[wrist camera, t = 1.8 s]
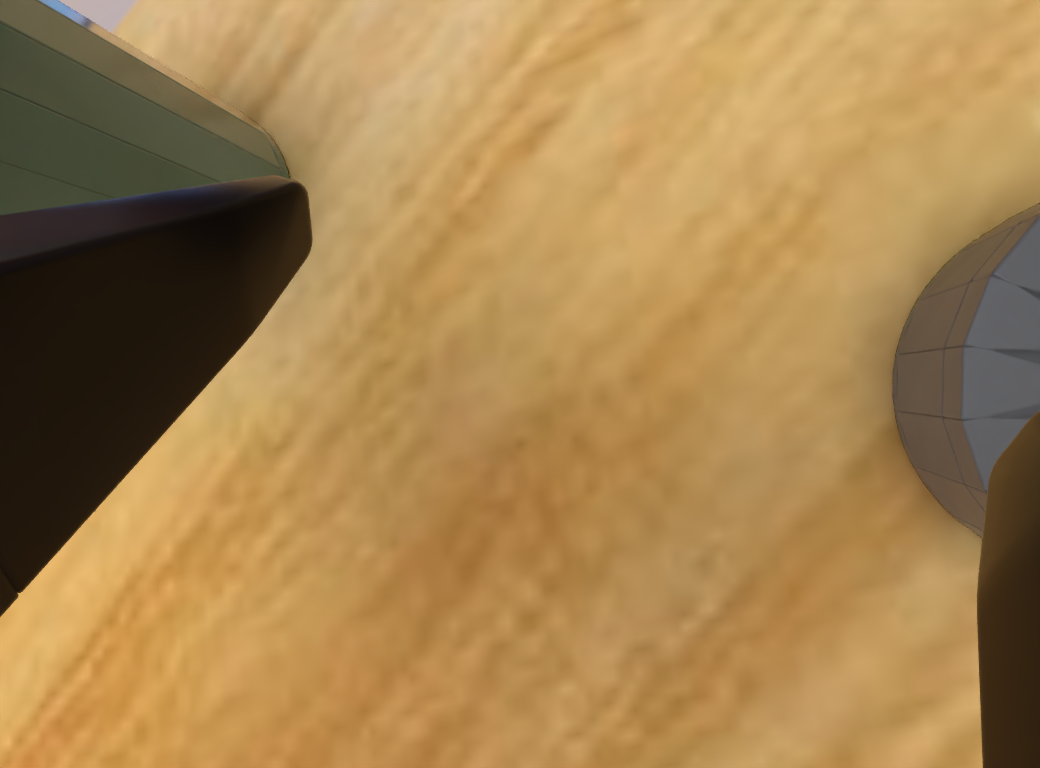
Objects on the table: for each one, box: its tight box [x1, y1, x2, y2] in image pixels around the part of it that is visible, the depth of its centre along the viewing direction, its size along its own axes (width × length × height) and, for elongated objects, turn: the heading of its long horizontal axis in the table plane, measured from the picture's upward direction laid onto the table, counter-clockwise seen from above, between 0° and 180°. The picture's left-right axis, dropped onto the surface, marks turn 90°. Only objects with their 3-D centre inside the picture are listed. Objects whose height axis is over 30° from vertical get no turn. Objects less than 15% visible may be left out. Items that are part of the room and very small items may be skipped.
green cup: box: [0, 0, 290, 215], centre depth 20 cm, size 7×7×12 cm
